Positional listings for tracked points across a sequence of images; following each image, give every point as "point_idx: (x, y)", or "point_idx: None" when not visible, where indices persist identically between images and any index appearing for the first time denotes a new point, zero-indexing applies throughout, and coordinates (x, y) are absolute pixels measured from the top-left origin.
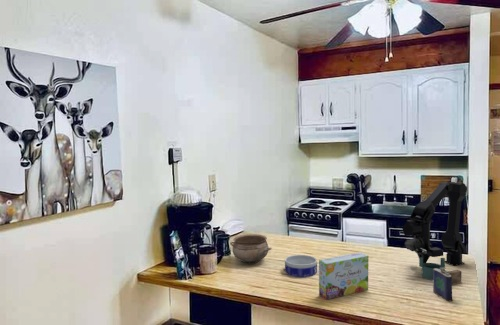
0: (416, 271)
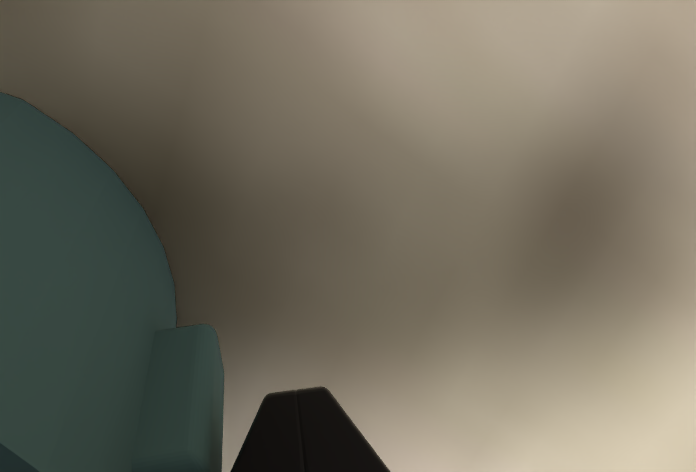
0: (401, 160)
